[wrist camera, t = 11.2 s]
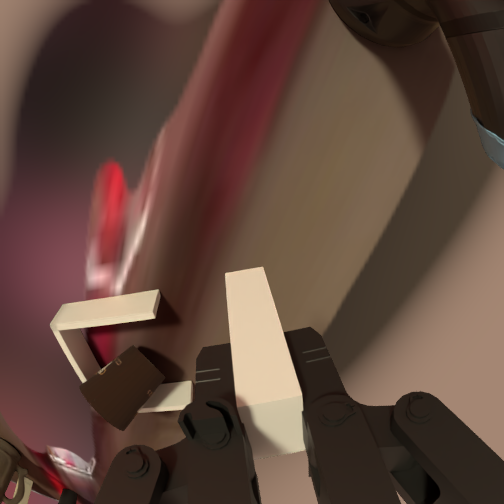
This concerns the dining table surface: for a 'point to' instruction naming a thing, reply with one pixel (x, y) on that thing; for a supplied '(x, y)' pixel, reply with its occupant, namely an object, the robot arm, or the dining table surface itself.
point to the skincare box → (28, 487)
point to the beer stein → (10, 472)
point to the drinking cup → (68, 497)
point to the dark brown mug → (122, 387)
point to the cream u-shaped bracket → (106, 314)
